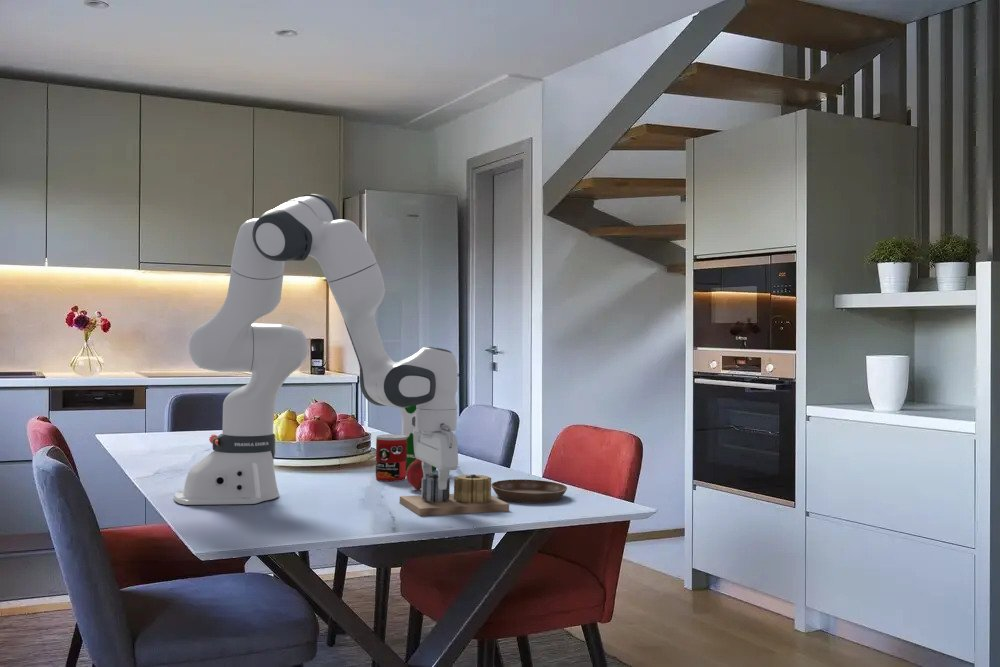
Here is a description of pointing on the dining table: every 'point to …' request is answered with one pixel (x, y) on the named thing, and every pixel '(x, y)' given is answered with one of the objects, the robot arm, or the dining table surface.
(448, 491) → the steel gear
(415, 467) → the onion
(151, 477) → the dining table surface
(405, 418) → the milk carton
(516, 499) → the plant saucer
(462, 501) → the gear board
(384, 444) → the canned food
